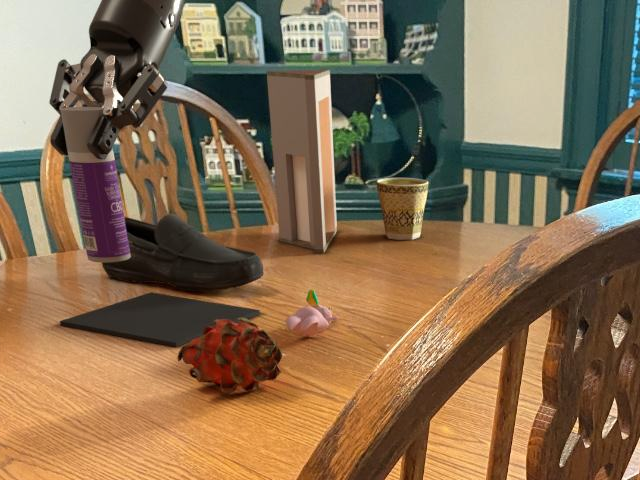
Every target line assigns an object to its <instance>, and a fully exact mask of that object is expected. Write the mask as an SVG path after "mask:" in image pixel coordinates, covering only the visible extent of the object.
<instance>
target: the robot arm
mask: <svg viewBox="0 0 640 480" xmlns="http://www.w3.org/2000/svg"><path fill="white" fill-rule="evenodd" d="M186 3H187V0H101V1H100V3H99V5H98V7H97V9H96V11H95V14H94V16H93V18H92V20H91V22H90V24H89V27H88V37H89V44H90V47H89V50H88V51H87V52H86V53H85V55H84V56H83V57H81V60H80V62H79V63H75V64H70V63H69V61H67V59H65V58H63V59H60V61H58V63H57V66H56V70H55V74H54V79H53V84H52V89H51V92H50V97H49V101H48V104H49V105H50V106H51V107H52V108H53V109H54V110H55V111H56V113H57V114H58V115H59V118H58V119H57V121H56V123H55V126H54V128H53V129H52V130H53V131H52V133H51V135H50V141H49V142H50V145H51V147H53V148H54V150H56V151H57V152H58V154H60V155H61V156H68V151H67V145H66V139H65V133H64V127H63V121H62V115H61V108H67V107H77V103H78V102H80V103H81V107H101V108H103V114H104V115H105V116H99V118H98V121H97V123H96V125H95V127H94V129H93V132H92V134H91V136H90V138H89V140H88V143H87V147H88V149H89V150H90V151H91V153H92V154H93V155H94V156H95V157H96V158H97V159H103V160H105V159H106V157H107V155H108V154H109V153H110V151H111V150H112V148H113V147H114V145H115V142H116V141H117V139H118V137H119V135H120V133H122V132H124V131H126V129H127V128H128V127H129V126H132V127H133V128H134V129H137V128H140V127H141V126H142V124H143V123H144V121H145V120H146V119H147V117H148V116H149V114H150V113H151V112H152V110H153V109H154V107H155V106H156V105H157V103H158V102H159V100H160V99H161V97H162V96H163V95H164V93H165V92H166V91H167V89H168V87H169V83H168V82H167V80H165V78H164V76H163V75H162V74H161V72H160V71H159V69H160V66H161V64H162V62H163V60H164V58H165V55H166V53H167V51H168V48H169V46H170V44H171V43H172V39H173V38H174V35H175V33H176V31H177V28H178V26H179V24H180V21H181V18H182V14H183V10H184V7H185V5H186ZM84 89H85V91H86V92H87V93H88V94H89V95H90V97H92V100H91V98H89V96H88V95H87V94H86V93H85V91H84ZM137 102H139V106H138V108H137V109H136V110H134V106H135V104H136V103H137ZM113 149H114V148H113Z"/></svg>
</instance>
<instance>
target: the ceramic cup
mask: <svg viewBox="0 0 640 480" xmlns="http://www.w3.org/2000/svg"><path fill="white" fill-rule="evenodd" d="M375 183H376V191H377V196H378V200H379V204H380V208H381V209H380V210H381V214H382V218H383V219H382V221H383V227H384V232H385V235H386V237H387V239H391V240H397V241H409V240H410V241H413V240H416V239H419V238H420V237H421V232H422V226H423V219H424V215H425V214H424V212H425V207H426V203H427V199H428V198H427V197H428V193H429V192H428V190H429V181H428V180H426V179H423V178H416V177H415V178H414V177H385V178H379V179H377V180H376V181H375Z"/></svg>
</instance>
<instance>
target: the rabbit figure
mask: <svg viewBox="0 0 640 480" xmlns="http://www.w3.org/2000/svg"><path fill="white" fill-rule="evenodd" d="M306 302H307V304H308V305H307V306H303V307H300V308H298V309H297V310H296V311H295V312H294V313H293V314H292V315H290V316H287V317H286V318H285V325H286V327H287V329H288V330H289V331H293V330H295V331H296V332H297V333H299V334H301V335H305V336H306V337H307V338H311V337H316V335H318V334H321V333H323V332H324V331H326V330H327V329H328V328H329V325H330V324H331V323H332V322H333V321H337V320H339V316H337V315H334V313H333V310H332V309H333V308H332V306H331V307H329V308H328V307H326V306H324V305H320V304H319V298H318V297H317V294H316V291H315V289H314V288H311V289H310V290H308V292H307V295H306Z"/></svg>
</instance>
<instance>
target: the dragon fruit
mask: <svg viewBox="0 0 640 480" xmlns="http://www.w3.org/2000/svg"><path fill="white" fill-rule="evenodd" d="M237 319H238V320H239V323H234V322H233V321H231V320H229V319H220V320H217V319H216V320H214V321H213V323H214V324H215V325H216V326H212V327H211V326H208V327H206V328H205V330H204V333H203V334H202V336H201V337H199V338H195V339H193V340H192V341H191V342H188V343H186V344H183V345H182V347H181V348H180V350H179V351H178V353H177V357H176V359H177V361H178V362H180V361H183V363H184V364H186V365H192V367H191V368H190V369H188V374H189V375H190V376H191V378H193V379H195V380H196V381H197V382H198V383H202V384H203V383H204V384H205V383H208V384H214V385H216V386H217V388H220V390H221V392H222V393H223V394H225V395H229V394H231V393H232V392H234V391H236V389H237V388H238V387H241V388H242V390H244V392H253V391H257V390H259V387H260V384H259V383H262V382H265V381H273V380H276V379H277V378H278V377H279V376H280V374H282V371H281V369H280V368H279V366H278V365H279V364H280V363H281V360H282V357H283V353H282V351H281V349H280V348H279V347H278V346H277V345H278V344H277V342H276V339H274V338H273V337H272V336H271V334H269V333H268V332H267V331H266V330H265V329H263V328H262V329H260V328H259V326H258V325H257V324H256V323H254V322H252V321H250V320H249V319H246V318H237ZM176 359H175V360H176Z"/></svg>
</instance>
